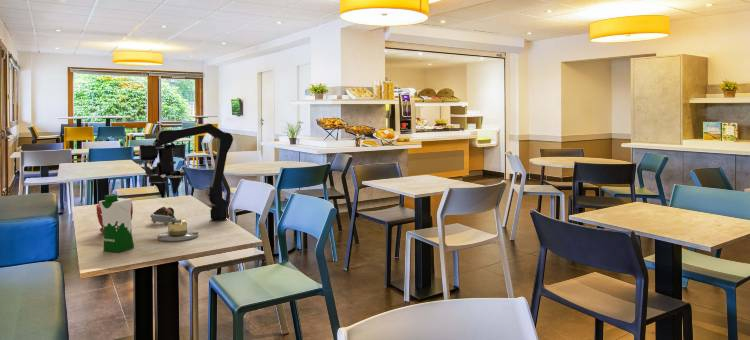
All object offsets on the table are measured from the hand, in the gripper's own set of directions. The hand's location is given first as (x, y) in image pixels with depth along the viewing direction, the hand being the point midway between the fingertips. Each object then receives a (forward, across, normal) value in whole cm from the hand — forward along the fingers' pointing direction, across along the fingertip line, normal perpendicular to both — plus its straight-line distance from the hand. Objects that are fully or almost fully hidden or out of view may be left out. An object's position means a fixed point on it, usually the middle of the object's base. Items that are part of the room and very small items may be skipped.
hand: (169, 195), depth 228 cm
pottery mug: (+13, -3, -5) cm, 14 cm away
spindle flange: (+13, +20, +14) cm, 27 cm away
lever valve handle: (+11, +18, +10) cm, 24 cm away
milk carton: (+12, +39, +3) cm, 41 cm away
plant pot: (+12, +16, -14) cm, 25 cm away
